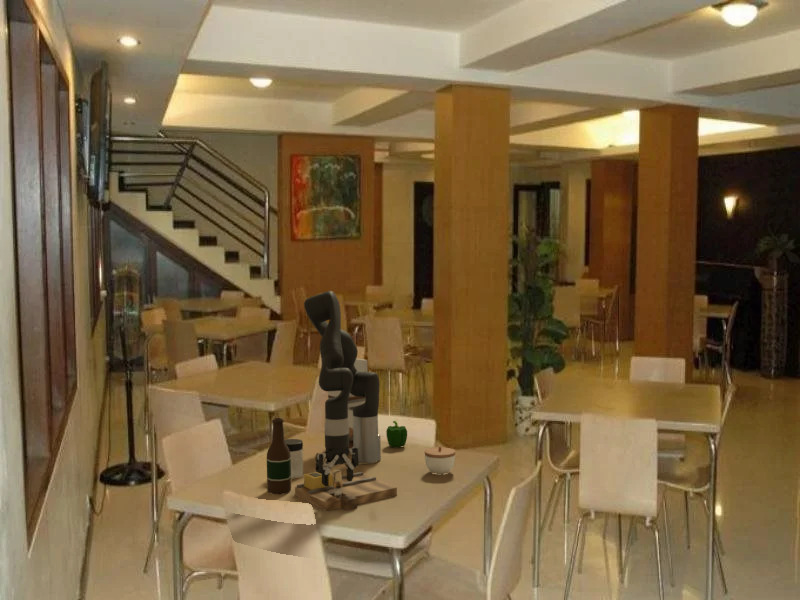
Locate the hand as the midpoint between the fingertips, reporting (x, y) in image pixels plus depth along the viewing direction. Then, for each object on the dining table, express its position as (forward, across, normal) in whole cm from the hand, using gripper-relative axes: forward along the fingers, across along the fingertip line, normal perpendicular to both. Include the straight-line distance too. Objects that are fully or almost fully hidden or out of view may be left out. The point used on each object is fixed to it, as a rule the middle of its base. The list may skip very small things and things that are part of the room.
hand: (337, 483), depth 264 cm
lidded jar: (+6, -46, -7) cm, 47 cm away
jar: (+6, -3, -36) cm, 37 cm away
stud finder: (+3, +1, -10) cm, 11 cm away
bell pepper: (+6, -56, -47) cm, 73 cm away
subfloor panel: (+6, -6, -5) cm, 10 cm away
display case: (+6, -39, -56) cm, 69 cm away
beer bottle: (+6, +9, -22) cm, 25 cm away
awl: (+6, 0, 0) cm, 6 cm away
